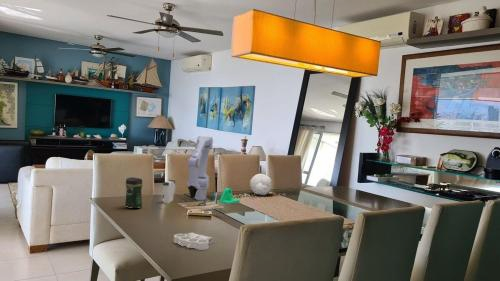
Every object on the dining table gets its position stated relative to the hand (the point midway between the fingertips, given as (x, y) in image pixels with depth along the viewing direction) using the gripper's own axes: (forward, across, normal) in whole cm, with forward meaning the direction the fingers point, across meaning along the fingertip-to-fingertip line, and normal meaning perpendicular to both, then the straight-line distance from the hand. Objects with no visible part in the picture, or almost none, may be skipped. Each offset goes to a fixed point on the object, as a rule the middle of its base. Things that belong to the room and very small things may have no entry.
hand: (192, 197), depth 244 cm
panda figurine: (+6, -12, -11) cm, 17 cm away
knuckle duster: (+6, +65, -32) cm, 73 cm away
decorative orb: (+5, -13, +64) cm, 66 cm away
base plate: (+6, +5, +3) cm, 8 cm away
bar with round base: (+4, +5, 0) cm, 6 cm away
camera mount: (+6, +3, +26) cm, 27 cm away
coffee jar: (+6, -11, -34) cm, 36 cm away
